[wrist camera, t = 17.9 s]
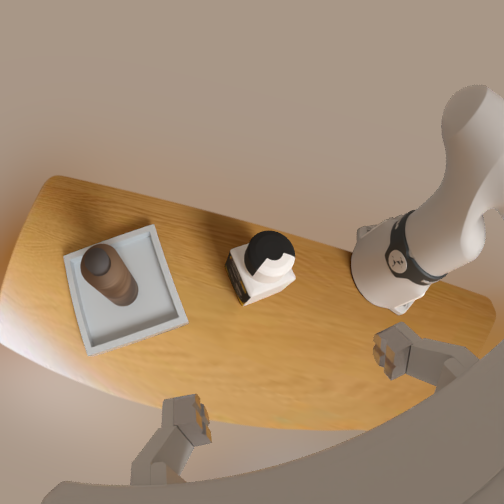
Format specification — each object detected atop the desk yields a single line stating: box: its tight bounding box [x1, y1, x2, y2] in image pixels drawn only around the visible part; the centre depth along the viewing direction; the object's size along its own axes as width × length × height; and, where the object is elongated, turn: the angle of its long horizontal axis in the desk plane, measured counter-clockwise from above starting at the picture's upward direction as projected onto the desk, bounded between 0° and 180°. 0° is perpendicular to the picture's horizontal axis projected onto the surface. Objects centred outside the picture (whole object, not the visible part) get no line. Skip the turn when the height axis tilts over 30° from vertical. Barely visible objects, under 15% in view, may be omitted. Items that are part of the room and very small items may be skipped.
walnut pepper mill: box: [80, 244, 138, 306], centre depth 33 cm, size 5×5×14 cm
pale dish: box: [64, 224, 189, 356], centre depth 39 cm, size 16×16×2 cm
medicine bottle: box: [225, 231, 295, 306], centre depth 40 cm, size 7×7×12 cm
